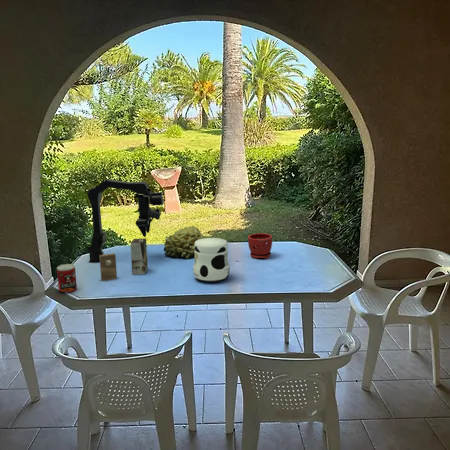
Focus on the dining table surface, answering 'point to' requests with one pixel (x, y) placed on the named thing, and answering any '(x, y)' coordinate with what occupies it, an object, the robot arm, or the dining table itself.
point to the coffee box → (139, 256)
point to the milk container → (211, 260)
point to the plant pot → (260, 245)
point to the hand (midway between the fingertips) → (146, 234)
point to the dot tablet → (108, 267)
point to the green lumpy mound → (182, 242)
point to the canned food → (66, 278)
